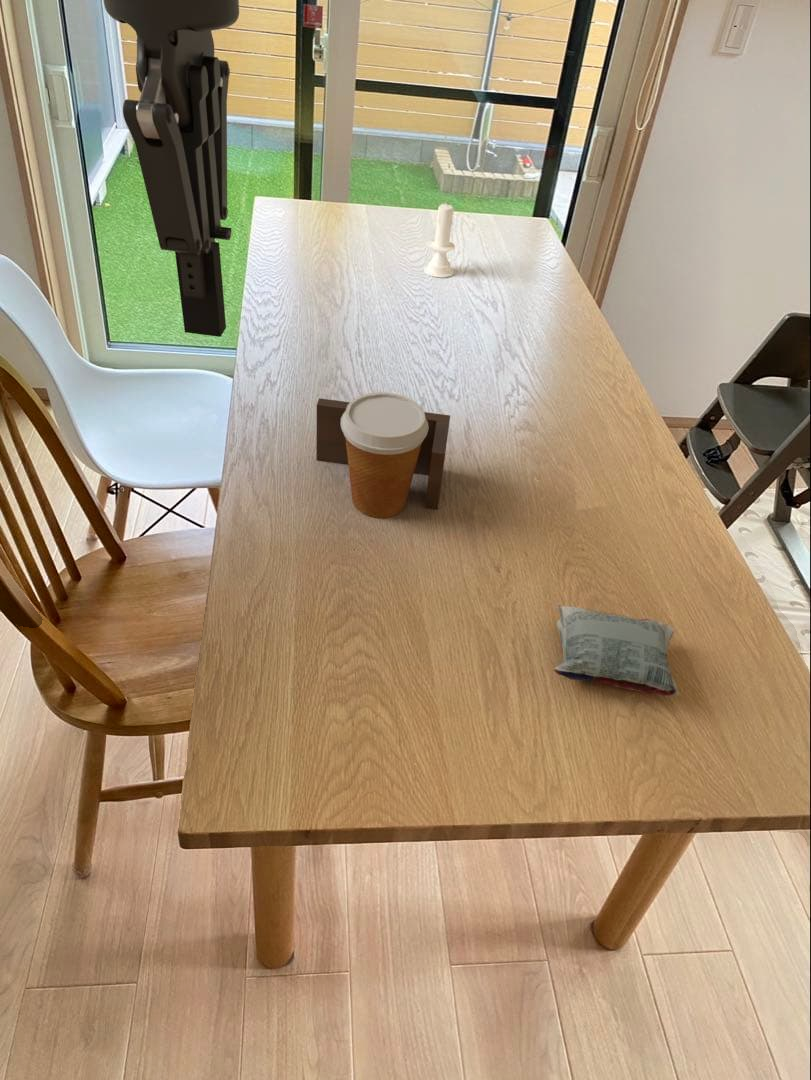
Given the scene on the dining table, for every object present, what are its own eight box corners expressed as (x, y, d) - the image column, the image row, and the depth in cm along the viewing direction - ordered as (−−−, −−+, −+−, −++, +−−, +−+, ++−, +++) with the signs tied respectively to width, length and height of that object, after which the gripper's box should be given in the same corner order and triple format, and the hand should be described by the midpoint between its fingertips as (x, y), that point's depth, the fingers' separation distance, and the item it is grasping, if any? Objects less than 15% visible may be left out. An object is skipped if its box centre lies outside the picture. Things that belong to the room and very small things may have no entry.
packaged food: (551, 619, 80) (561, 586, 76) (668, 640, 79) (684, 608, 76) (547, 687, 73) (559, 655, 70) (675, 712, 73) (692, 680, 69)
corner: (437, 509, 91) (445, 454, 86) (305, 491, 92) (305, 435, 86) (442, 469, 97) (450, 415, 92) (318, 453, 98) (319, 398, 92)
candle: (418, 267, 141) (425, 198, 133) (445, 264, 143) (453, 196, 135) (432, 279, 138) (439, 210, 130) (458, 276, 140) (467, 207, 131)
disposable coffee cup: (321, 495, 92) (322, 408, 83) (383, 466, 97) (389, 381, 89) (374, 539, 87) (381, 450, 79) (436, 505, 92) (448, 419, 84)
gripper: (195, -44, 38) (230, 381, 54) (262, -68, 48) (275, 298, 63) (44, -61, 38) (123, 367, 54) (141, -81, 48) (184, 287, 64)
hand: (205, 329), depth 59 cm, fingers closed
